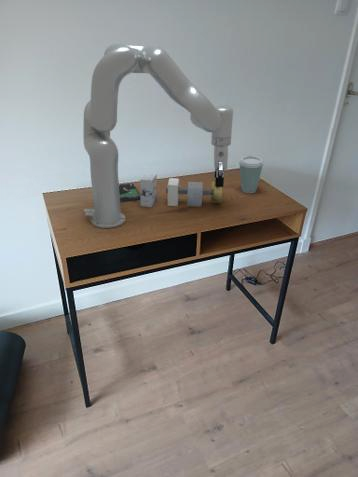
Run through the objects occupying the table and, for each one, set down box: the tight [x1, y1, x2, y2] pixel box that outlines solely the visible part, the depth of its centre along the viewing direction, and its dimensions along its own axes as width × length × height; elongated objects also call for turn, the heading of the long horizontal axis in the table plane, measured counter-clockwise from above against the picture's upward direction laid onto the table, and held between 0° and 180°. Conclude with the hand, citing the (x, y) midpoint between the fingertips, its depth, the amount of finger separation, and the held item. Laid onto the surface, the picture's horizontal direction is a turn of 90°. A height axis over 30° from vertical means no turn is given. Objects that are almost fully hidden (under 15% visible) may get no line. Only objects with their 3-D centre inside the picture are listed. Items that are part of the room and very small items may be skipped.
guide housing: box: [186, 181, 204, 208], centre depth 152 cm, size 6×7×8 cm
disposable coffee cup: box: [238, 155, 264, 194], centre depth 163 cm, size 11×11×15 cm
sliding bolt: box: [165, 180, 224, 204], centre depth 151 cm, size 23×5×8 cm, turn 86°
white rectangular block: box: [167, 177, 180, 207], centre depth 152 cm, size 4×8×9 cm, turn 176°
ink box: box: [139, 172, 158, 208], centre depth 150 cm, size 9×5×12 cm, turn 168°
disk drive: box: [119, 183, 141, 203], centre depth 159 cm, size 10×3×15 cm
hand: (218, 182), depth 149 cm, fingers open, 9 cm apart
